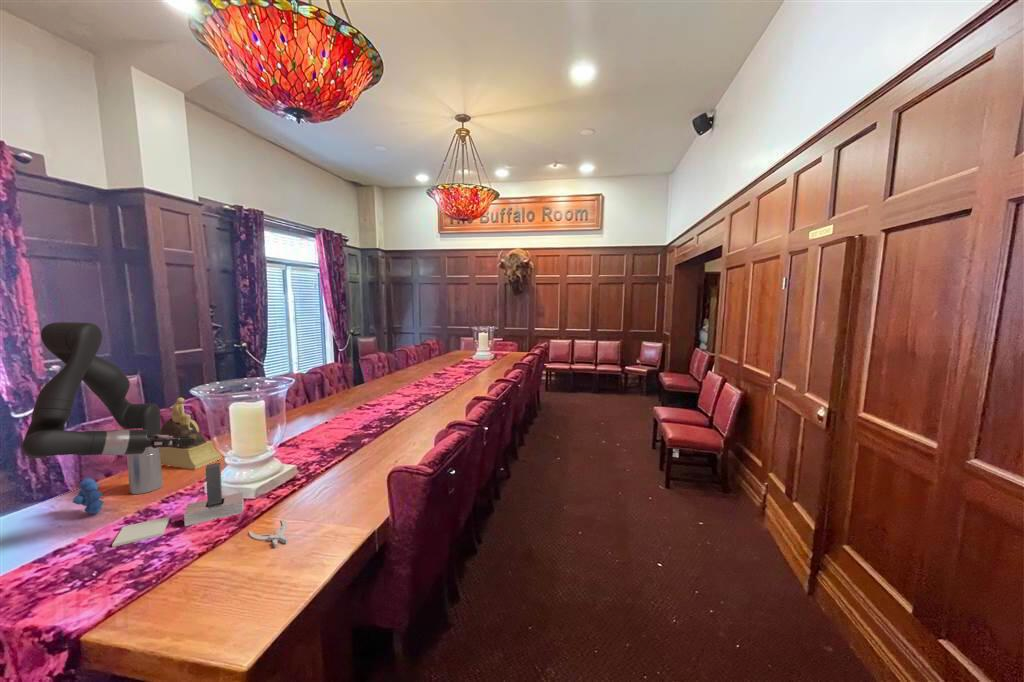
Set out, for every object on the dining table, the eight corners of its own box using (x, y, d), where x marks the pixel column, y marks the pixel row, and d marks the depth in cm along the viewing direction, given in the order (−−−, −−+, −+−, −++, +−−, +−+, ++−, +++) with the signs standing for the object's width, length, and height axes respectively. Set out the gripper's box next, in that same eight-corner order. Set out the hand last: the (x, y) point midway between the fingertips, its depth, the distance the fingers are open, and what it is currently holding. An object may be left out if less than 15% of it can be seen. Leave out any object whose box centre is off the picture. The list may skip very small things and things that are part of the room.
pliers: (283, 516, 126) (299, 534, 116) (283, 521, 126) (300, 539, 116) (247, 529, 119) (262, 549, 109) (248, 534, 119) (262, 554, 109)
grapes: (66, 515, 129) (62, 480, 128) (94, 505, 135) (91, 472, 134) (81, 523, 124) (78, 487, 123) (110, 513, 130) (107, 479, 129)
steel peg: (209, 513, 130) (206, 464, 129) (222, 510, 132) (220, 462, 131) (208, 518, 127) (205, 468, 126) (222, 514, 129) (219, 466, 128)
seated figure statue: (224, 459, 178) (220, 395, 175) (195, 470, 165) (191, 401, 163) (177, 453, 184) (173, 391, 182) (146, 463, 172) (141, 397, 169)
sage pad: (123, 528, 121) (123, 526, 121) (169, 518, 127) (169, 516, 127) (112, 547, 112) (112, 544, 112) (162, 535, 118) (162, 532, 118)
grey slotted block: (188, 515, 129) (187, 503, 129) (243, 502, 137) (243, 492, 137) (184, 526, 122) (184, 514, 122) (242, 512, 131) (242, 501, 130)
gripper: (131, 431, 115) (198, 430, 127) (124, 428, 124) (187, 427, 136) (125, 457, 114) (194, 454, 126) (118, 452, 122) (183, 449, 135)
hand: (190, 440), depth 131 cm, fingers open, 8 cm apart
